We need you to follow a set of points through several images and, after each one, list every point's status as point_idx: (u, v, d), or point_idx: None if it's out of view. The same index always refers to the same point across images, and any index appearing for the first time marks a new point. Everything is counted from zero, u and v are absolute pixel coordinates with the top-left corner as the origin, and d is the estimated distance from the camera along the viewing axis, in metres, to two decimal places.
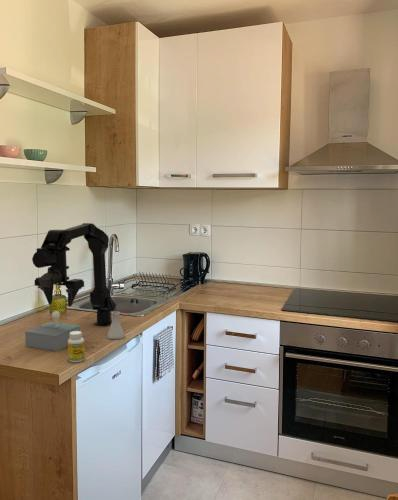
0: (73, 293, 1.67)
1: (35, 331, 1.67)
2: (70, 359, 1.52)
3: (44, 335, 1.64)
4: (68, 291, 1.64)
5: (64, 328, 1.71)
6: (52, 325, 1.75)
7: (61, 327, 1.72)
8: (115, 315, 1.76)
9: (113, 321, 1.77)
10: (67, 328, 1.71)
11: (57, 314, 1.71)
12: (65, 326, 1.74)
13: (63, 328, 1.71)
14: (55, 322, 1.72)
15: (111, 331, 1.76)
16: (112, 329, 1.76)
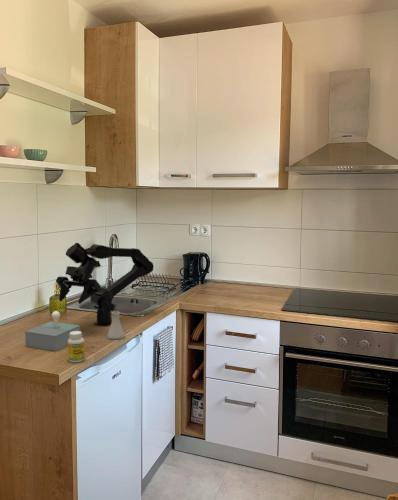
0: (87, 293, 1.80)
1: (35, 331, 1.67)
2: (70, 359, 1.52)
3: (44, 335, 1.64)
4: (85, 286, 1.79)
5: (64, 328, 1.71)
6: (52, 325, 1.75)
7: (61, 327, 1.72)
8: (115, 315, 1.76)
9: (113, 321, 1.77)
10: (67, 328, 1.71)
11: (57, 314, 1.71)
12: (65, 326, 1.74)
13: (63, 328, 1.71)
14: (55, 322, 1.72)
15: (111, 331, 1.76)
16: (112, 329, 1.76)
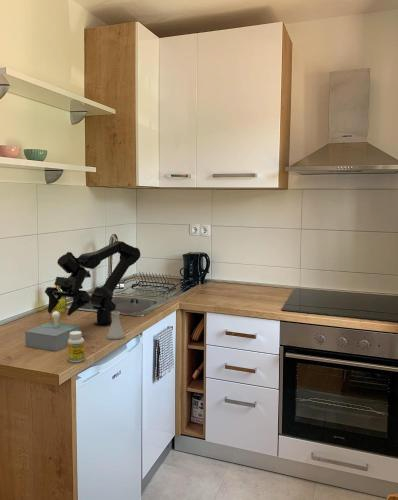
0: (77, 305, 1.74)
1: (35, 331, 1.67)
2: (70, 359, 1.52)
3: (44, 335, 1.64)
4: (75, 298, 1.73)
5: (64, 328, 1.71)
6: (52, 325, 1.75)
7: (61, 327, 1.72)
8: (115, 315, 1.76)
9: (113, 321, 1.77)
10: (67, 328, 1.71)
11: (57, 314, 1.71)
12: (65, 326, 1.74)
13: (63, 328, 1.71)
14: (55, 322, 1.72)
15: (111, 331, 1.76)
16: (112, 329, 1.76)
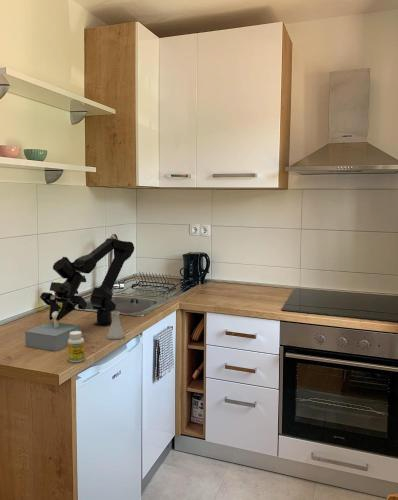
0: (66, 310, 1.73)
1: (35, 331, 1.67)
2: (70, 359, 1.52)
3: (44, 335, 1.64)
4: (64, 303, 1.72)
5: (64, 328, 1.71)
6: (52, 325, 1.75)
7: (61, 327, 1.72)
8: (115, 315, 1.76)
9: (113, 321, 1.77)
10: (67, 328, 1.71)
11: (57, 314, 1.71)
12: (65, 326, 1.74)
13: (63, 328, 1.71)
14: (55, 322, 1.72)
15: (111, 331, 1.76)
16: (112, 329, 1.76)
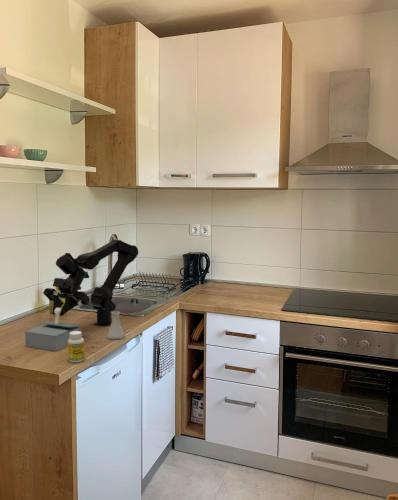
0: (69, 305, 1.75)
1: (35, 331, 1.67)
2: (70, 359, 1.52)
3: (44, 335, 1.64)
4: (67, 298, 1.73)
5: (64, 324, 1.71)
6: (52, 322, 1.75)
7: (61, 324, 1.72)
8: (115, 315, 1.76)
9: (113, 321, 1.77)
10: (67, 325, 1.71)
11: (60, 310, 1.72)
12: (65, 324, 1.74)
13: (63, 324, 1.71)
14: (56, 318, 1.73)
15: (111, 331, 1.76)
16: (112, 329, 1.76)
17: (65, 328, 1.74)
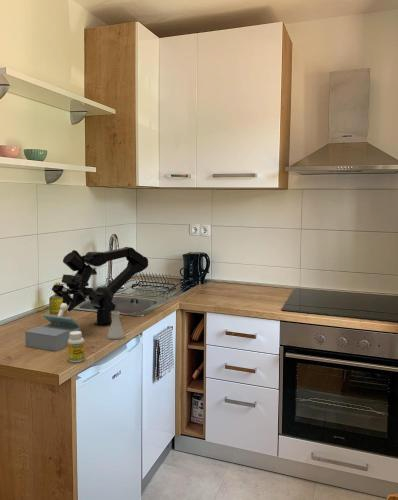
0: (77, 301, 1.79)
1: (35, 331, 1.67)
2: (70, 359, 1.52)
3: (44, 335, 1.64)
4: (75, 294, 1.78)
5: None
6: None
7: None
8: (115, 315, 1.76)
9: (113, 321, 1.77)
10: None
11: (66, 305, 1.76)
12: None
13: None
14: (60, 312, 1.74)
15: (111, 331, 1.76)
16: (112, 329, 1.76)
17: (65, 328, 1.74)
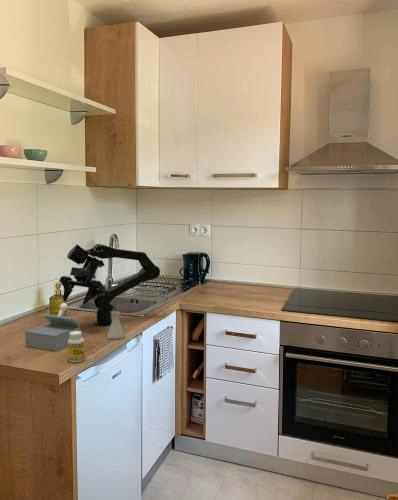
0: (91, 294, 1.83)
1: (35, 331, 1.67)
2: (70, 359, 1.52)
3: (44, 335, 1.64)
4: (90, 288, 1.81)
5: None
6: None
7: None
8: (115, 315, 1.76)
9: (113, 321, 1.77)
10: None
11: (66, 305, 1.76)
12: None
13: None
14: (60, 312, 1.74)
15: (111, 331, 1.76)
16: (112, 329, 1.76)
17: (65, 328, 1.74)
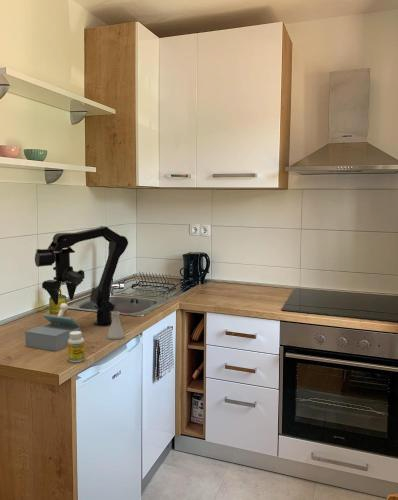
0: None
1: (35, 331, 1.67)
2: (70, 359, 1.52)
3: (44, 335, 1.64)
4: (77, 284, 1.89)
5: None
6: None
7: None
8: (115, 315, 1.76)
9: (113, 321, 1.77)
10: None
11: (66, 305, 1.76)
12: None
13: None
14: (60, 312, 1.74)
15: (111, 331, 1.76)
16: (112, 329, 1.76)
17: (65, 328, 1.74)
